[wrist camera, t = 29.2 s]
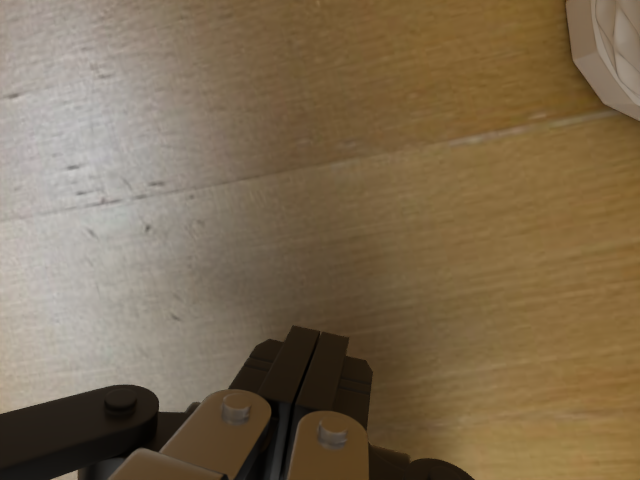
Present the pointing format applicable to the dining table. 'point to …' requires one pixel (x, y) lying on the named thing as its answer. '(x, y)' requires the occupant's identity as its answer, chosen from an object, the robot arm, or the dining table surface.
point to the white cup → (608, 49)
